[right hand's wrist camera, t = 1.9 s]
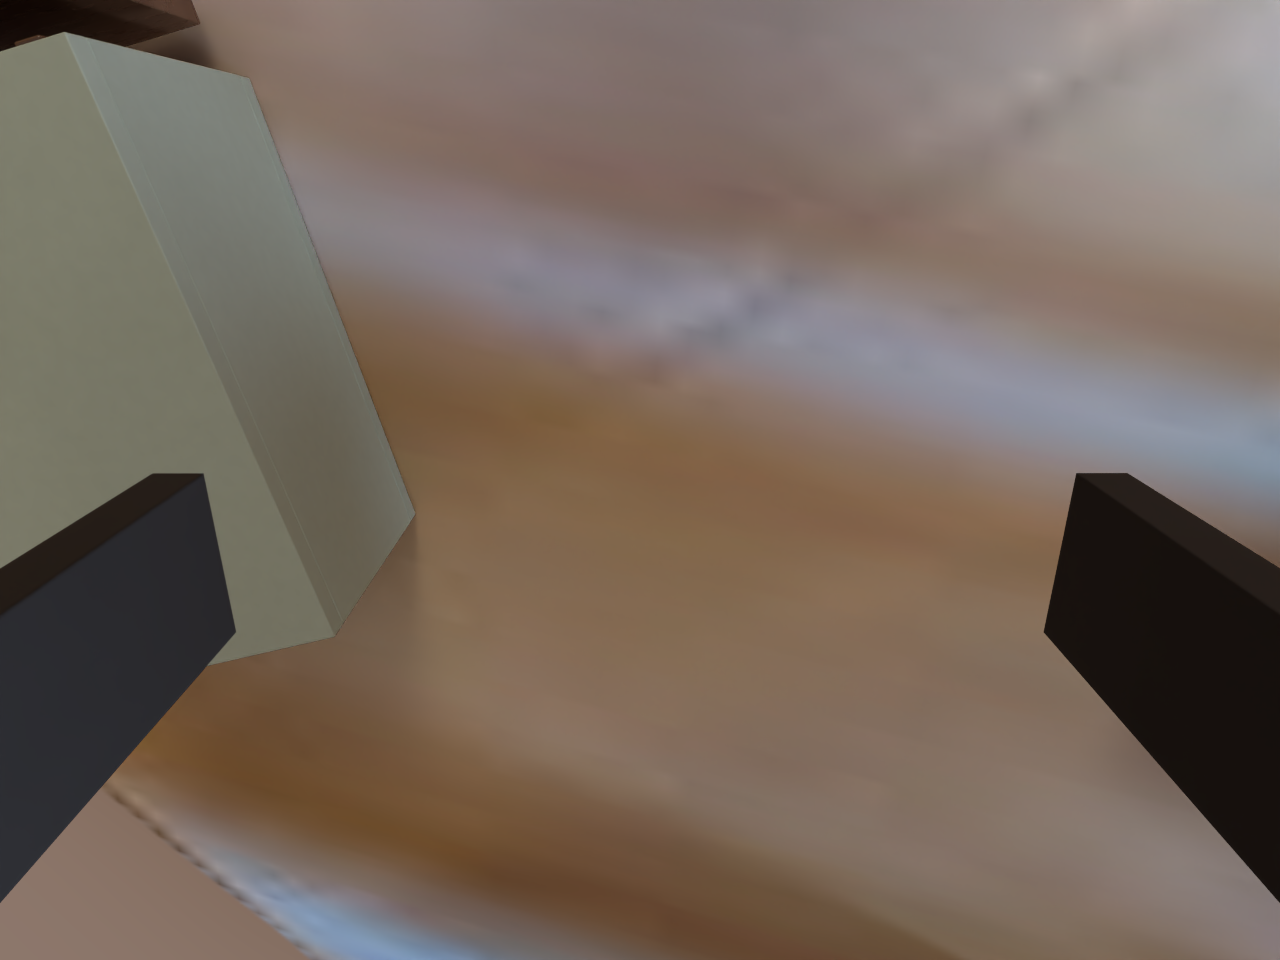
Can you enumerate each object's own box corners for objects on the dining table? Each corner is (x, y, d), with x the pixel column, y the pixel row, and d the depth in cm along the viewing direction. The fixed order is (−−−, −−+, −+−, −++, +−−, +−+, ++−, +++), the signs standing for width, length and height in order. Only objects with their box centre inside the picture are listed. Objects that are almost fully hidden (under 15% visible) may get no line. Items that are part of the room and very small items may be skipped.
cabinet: (-15, 154, 31) (-311, 146, 21) (249, 76, 30) (64, 31, 21) (191, 567, 37) (34, 705, 28) (416, 514, 36) (335, 637, 27)
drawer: (-160, -130, 27) (-493, -257, 19) (106, -219, 26) (-127, -389, 18) (152, 491, 35) (8, 585, 27) (364, 438, 34) (279, 518, 26)
